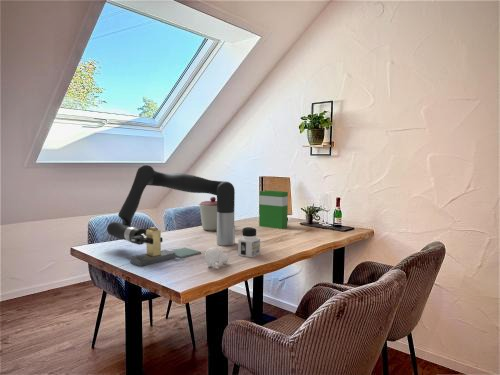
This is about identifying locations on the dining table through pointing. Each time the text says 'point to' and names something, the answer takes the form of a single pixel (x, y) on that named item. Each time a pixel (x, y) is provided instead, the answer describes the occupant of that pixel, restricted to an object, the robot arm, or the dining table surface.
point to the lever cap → (154, 242)
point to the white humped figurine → (215, 257)
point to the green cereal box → (273, 209)
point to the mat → (185, 252)
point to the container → (249, 243)
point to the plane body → (152, 258)
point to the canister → (209, 214)
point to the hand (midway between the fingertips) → (157, 240)
